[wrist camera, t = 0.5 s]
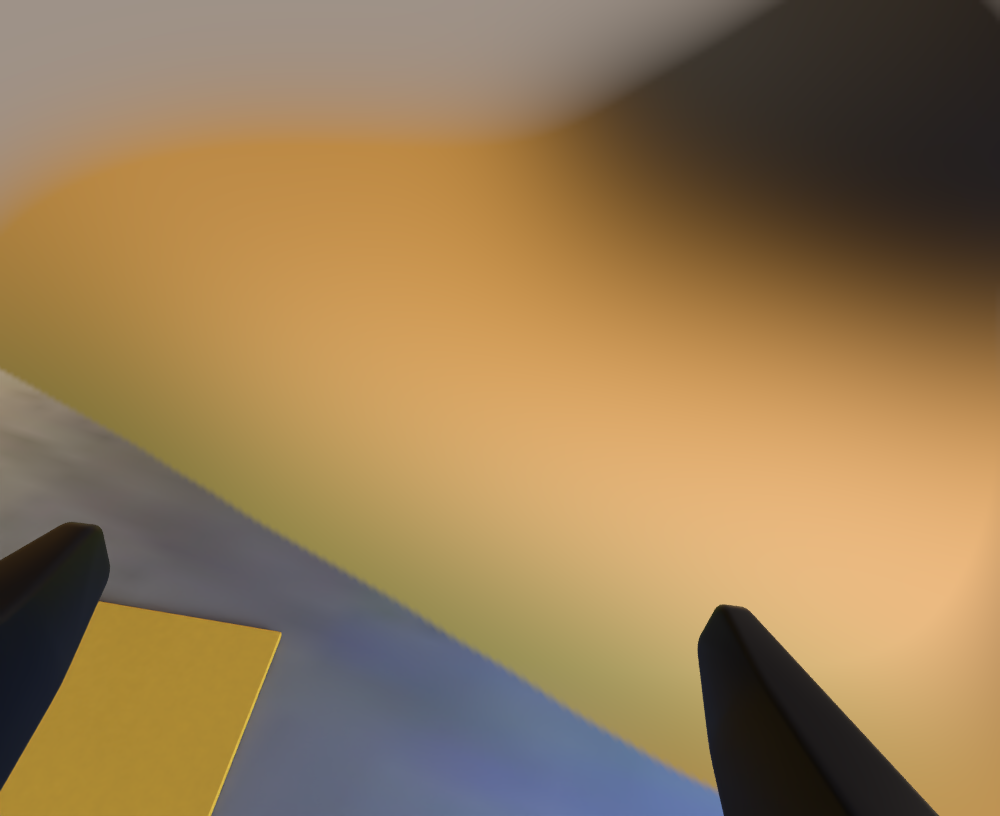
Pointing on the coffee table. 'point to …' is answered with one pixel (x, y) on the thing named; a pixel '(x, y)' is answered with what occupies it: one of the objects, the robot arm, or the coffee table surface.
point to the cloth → (143, 718)
